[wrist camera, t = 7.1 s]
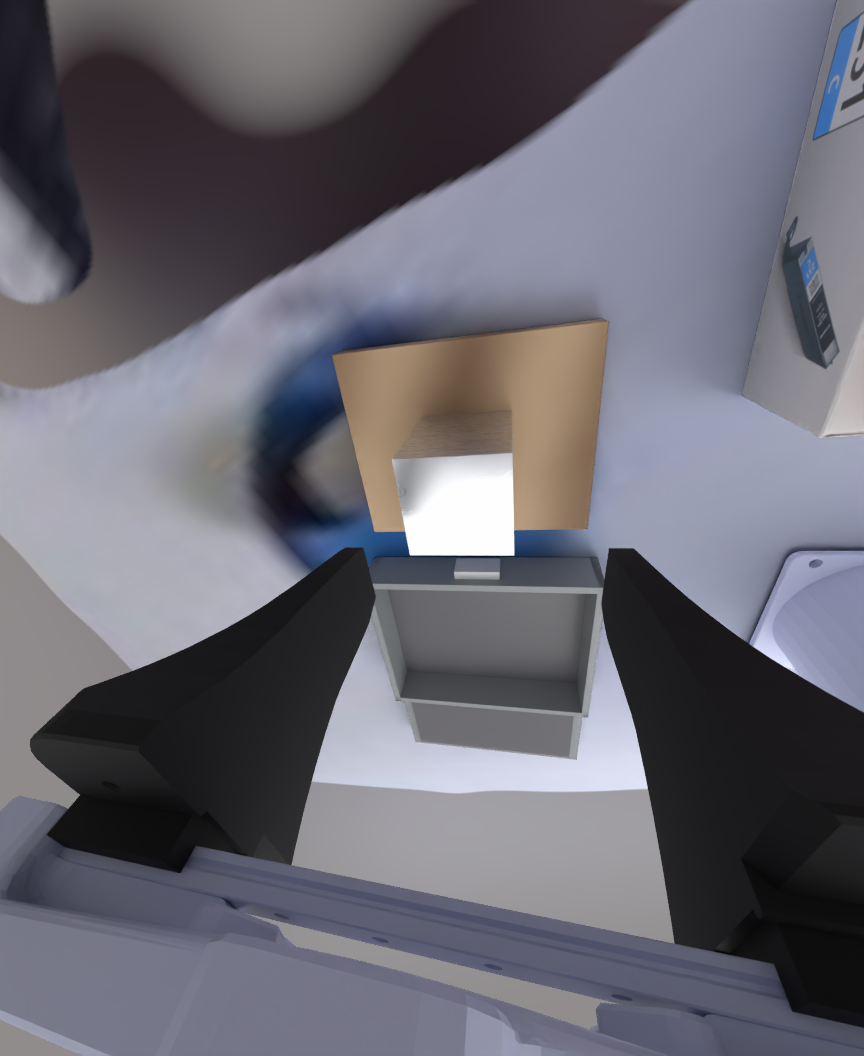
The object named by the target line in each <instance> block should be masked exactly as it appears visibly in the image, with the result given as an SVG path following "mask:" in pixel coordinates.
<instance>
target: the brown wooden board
mask: <svg viewBox="0 0 864 1056" xmlns="http://www.w3.org/2000/svg"><path fill="white" fill-rule="evenodd" d="M608 324H609V321H607V320H604V319H596V320H588V321H580V322H572V323H564V324H556V325H548V326H539V327H531V328H523V329H515V330H507V331H499V332H491V333H483V334H475V335H467V336H458V337H450V338H442V339H434V340H426V341H418V342H410V343H402V344H394V345H385V346H377V347H369V348H361V349H353V350H345V351H341V352H338V353H336V354H333V355H332V358H333V362H334V366H335V370H336V374H337V378H338V382H339V386H340V391H341V395H342V399H343V403H344V407H345V411H346V415H347V419H348V424H349V428H350V432H351V436H352V440H353V444H354V448H355V452H356V457H357V461H358V465H359V469H360V473H361V477H362V481H363V485H364V490H365V494H366V498H367V502H368V506H369V510H370V514H371V518H372V522H373V527H374V531H375V532H406V531H405V526H404V521H403V516H402V511H401V505H400V500H399V495H398V490H397V485H396V479H395V474H394V469H393V464H392V459H393V457H394V456H395V454H396V453H397V451H398V450H399V448H400V447H401V445H402V444H403V442H404V441H405V439H406V438H407V437H408V435H409V434H410V432H411V431H412V429H413V428H414V426H415V425H416V423H417V422H418V420H419V419H420V417H425V416H438V415H450V414H463V413H476V412H488V411H501V410H512V426H513V487H514V530H564V529H588V520H589V511H590V501H591V491H592V481H593V471H594V462H595V452H596V442H597V432H598V422H599V413H600V403H601V393H602V383H603V373H604V363H605V354H606V344H607V334H608Z"/></svg>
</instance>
